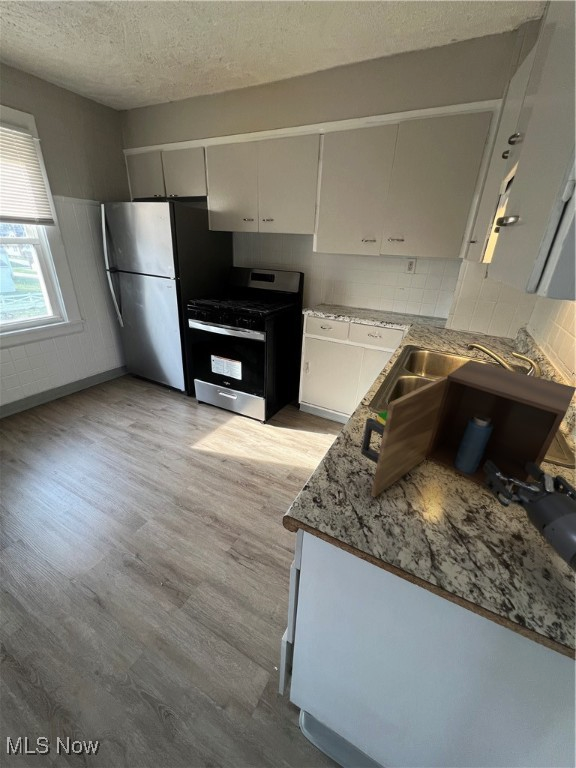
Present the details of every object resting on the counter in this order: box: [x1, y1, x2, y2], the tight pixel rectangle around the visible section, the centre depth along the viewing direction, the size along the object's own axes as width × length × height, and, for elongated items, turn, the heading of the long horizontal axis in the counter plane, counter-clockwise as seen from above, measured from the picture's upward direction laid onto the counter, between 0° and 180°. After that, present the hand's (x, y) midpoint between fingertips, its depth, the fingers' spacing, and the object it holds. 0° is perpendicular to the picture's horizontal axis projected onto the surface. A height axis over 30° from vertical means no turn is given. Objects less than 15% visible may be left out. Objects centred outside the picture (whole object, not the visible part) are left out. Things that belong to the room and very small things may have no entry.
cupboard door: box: [360, 375, 448, 498], centre depth 73 cm, size 7×22×24 cm, turn 130°
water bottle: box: [454, 414, 493, 474], centre depth 76 cm, size 5×5×14 cm
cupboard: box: [425, 359, 576, 492], centre depth 76 cm, size 16×22×24 cm
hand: (507, 464), depth 64 cm, fingers open, 8 cm apart
